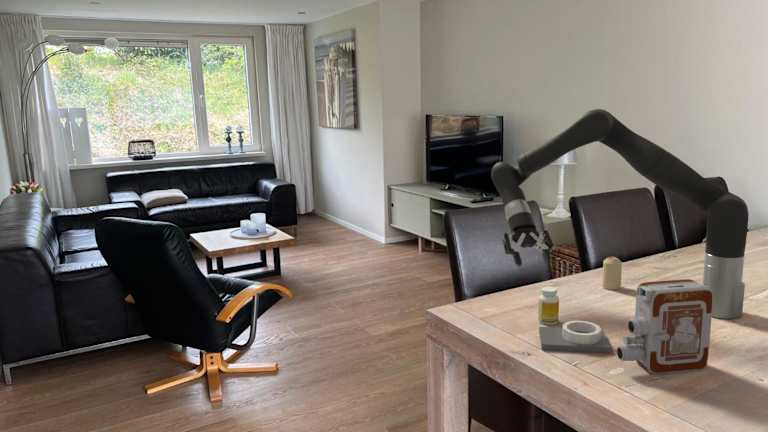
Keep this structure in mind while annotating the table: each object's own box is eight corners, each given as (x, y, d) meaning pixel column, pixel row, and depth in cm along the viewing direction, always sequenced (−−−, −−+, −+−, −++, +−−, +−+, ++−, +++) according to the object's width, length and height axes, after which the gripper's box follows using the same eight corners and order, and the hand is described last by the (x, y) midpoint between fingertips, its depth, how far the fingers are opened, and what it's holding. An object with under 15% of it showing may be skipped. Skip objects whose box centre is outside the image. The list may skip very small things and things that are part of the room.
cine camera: (607, 361, 132) (611, 280, 128) (686, 355, 134) (692, 274, 130) (627, 380, 123) (632, 293, 119) (712, 373, 125) (719, 287, 121)
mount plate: (602, 334, 147) (603, 320, 146) (610, 353, 136) (610, 337, 135) (539, 331, 150) (539, 317, 149) (541, 349, 139) (542, 334, 139)
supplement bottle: (534, 319, 158) (535, 287, 156) (550, 316, 160) (551, 284, 158) (546, 326, 153) (546, 293, 151) (562, 323, 155) (563, 290, 153)
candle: (622, 290, 178) (623, 260, 176) (604, 290, 180) (605, 259, 178) (618, 284, 184) (620, 255, 182) (601, 284, 185) (602, 255, 183)
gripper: (500, 212, 169) (514, 259, 160) (545, 209, 171) (561, 255, 162) (494, 226, 175) (507, 272, 166) (537, 222, 177) (553, 268, 168)
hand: (534, 263), depth 164 cm, fingers open, 8 cm apart
